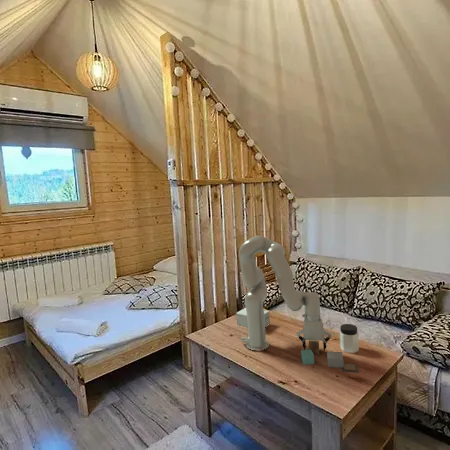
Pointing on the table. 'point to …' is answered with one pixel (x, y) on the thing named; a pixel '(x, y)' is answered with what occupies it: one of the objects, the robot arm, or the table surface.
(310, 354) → the teal cube
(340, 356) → the grey base block
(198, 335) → the table surface
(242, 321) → the supplement box
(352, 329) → the jar
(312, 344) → the walnut cube
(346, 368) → the swatch
